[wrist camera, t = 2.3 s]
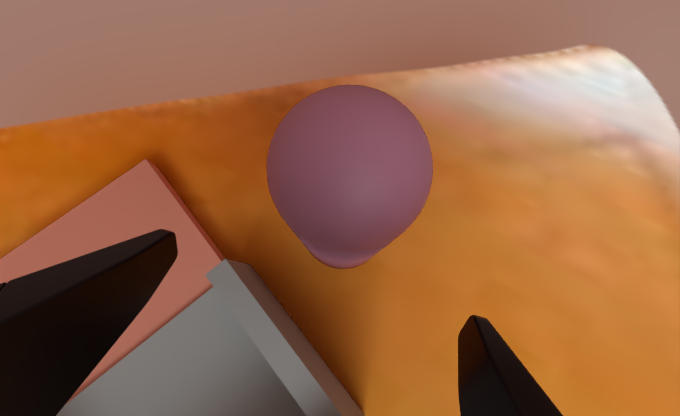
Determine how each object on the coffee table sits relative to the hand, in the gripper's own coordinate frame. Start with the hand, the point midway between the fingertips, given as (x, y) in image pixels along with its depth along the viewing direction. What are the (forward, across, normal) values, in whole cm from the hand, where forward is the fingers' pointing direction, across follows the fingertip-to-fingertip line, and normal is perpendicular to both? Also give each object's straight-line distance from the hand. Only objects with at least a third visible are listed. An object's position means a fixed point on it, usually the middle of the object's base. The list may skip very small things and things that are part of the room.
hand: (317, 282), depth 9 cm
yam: (+10, 0, +5) cm, 11 cm away
